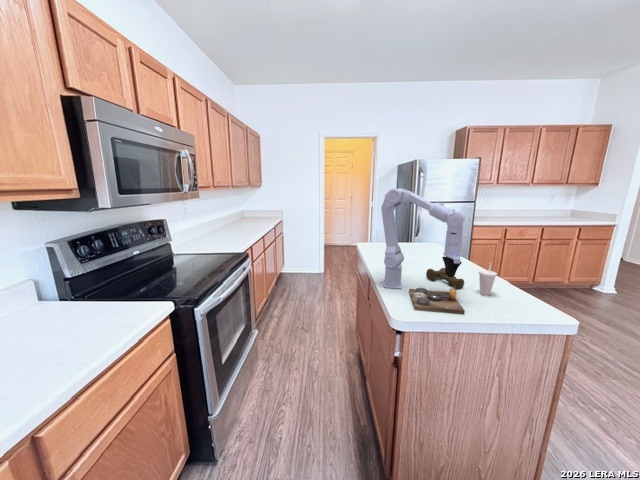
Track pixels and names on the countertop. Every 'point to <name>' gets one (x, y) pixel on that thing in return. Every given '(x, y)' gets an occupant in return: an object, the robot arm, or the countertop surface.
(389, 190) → the robot arm
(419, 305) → the base
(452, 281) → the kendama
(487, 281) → the smoothie
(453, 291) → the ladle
